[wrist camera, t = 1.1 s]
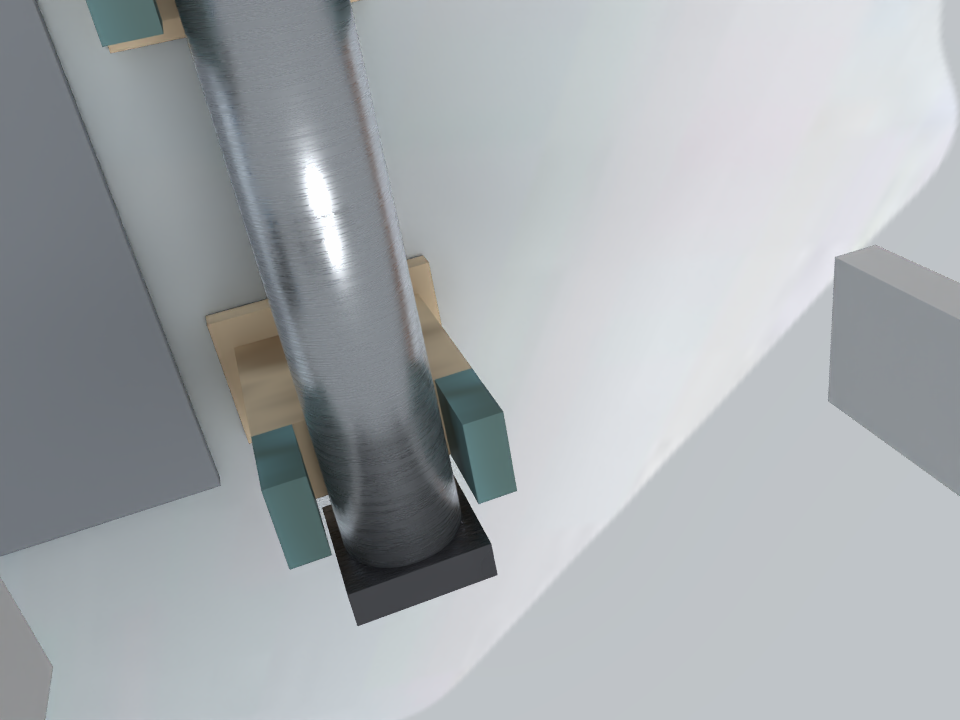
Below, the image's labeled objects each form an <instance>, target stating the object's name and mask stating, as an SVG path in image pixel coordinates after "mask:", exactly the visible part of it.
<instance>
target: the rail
mask: <svg viewBox="0 0 960 720" xmlns="http://www.w3.org/2000/svg"><path fill="white" fill-rule="evenodd" d="M175 3H176V6H177V10H178V13H179V16H180V19H181V22H182V26H183V29H184V32H185V35H186V38H187V42H188V45H189V48H190V51H191V55H192V58H193V61H194V64H195V67H196V71H197V74H198V77H199V80H200V83H201V87H202V90H203V93H204V96H205V100H206V103H207V106H208V109H209V112H210V116H211V119H212V122H213V125H214V129H215V132H216V135H217V138H218V141H219V145H220V148H221V151H222V154H223V157H224V161H225V164H226V167H227V170H228V174H229V177H230V180H231V183H232V186H233V190H234V193H235V196H236V199H237V203H238V206H239V209H240V212H241V215H242V219H243V222H244V225H245V228H246V231H247V235H248V238H249V241H250V244H251V248H252V251H253V254H254V257H255V260H256V264H257V267H258V270H259V273H260V276H261V280H262V283H263V286H264V289H265V293H266V296H267V299H268V302H269V305H270V309H271V312H272V315H273V318H274V322H275V325H276V328H277V331H278V334H279V338H280V341H281V344H282V347H283V350H284V354H285V357H286V360H287V363H288V367H289V370H290V373H291V376H292V379H293V383H294V386H295V389H296V392H297V396H298V399H299V402H300V405H301V408H302V412H303V415H304V418H305V421H306V424H307V428H308V431H309V434H310V437H311V441H312V444H313V447H314V450H315V453H316V457H317V460H318V463H319V466H320V470H321V473H322V476H323V479H324V482H325V486H326V489H327V492H328V495H329V498H330V502H331V505H328V506H325V507H322V509H323V512H324V516H325V519H326V522H327V526H328V529H329V533H330V536H331V540H332V543H333V546H334V550H335V553H336V557H337V560H338V564H339V567H340V570H341V574H342V577H343V581H344V584H345V588H346V591H347V595H348V598H349V601H350V604H351V607H352V610H353V613H354V616H355V620H356V623H357V626H360V625H362V624H365V623H368V622H371V621H373V620H376V619H379V618H381V617H384V616H387V615H390V614H392V613H395V612H398V611H401V610H403V609H406V608H409V607H411V606H414V605H417V604H420V603H422V602H425V601H428V600H431V599H433V598H436V597H439V596H441V595H444V594H447V593H450V592H452V591H455V590H458V589H461V588H463V587H466V586H469V585H471V584H474V583H477V582H480V581H482V580H485V579H488V578H491V577H493V576H496V575H497V570H496V565H495V560H494V555H493V550H492V545H491V543H490V541H489V539H488V537H487V535H486V533H485V532H484V530H483V528H482V526H481V524H480V522H479V521H478V519H477V517H476V515H475V513H474V511H473V510H472V508H471V506H470V504H469V502H468V501H467V499H466V497H465V495H464V493H463V491H462V490H461V488H460V486H459V484H458V482H457V480H456V479H455V477H454V475H453V471H452V467H451V462H450V458H449V453H448V448H447V444H446V439H445V435H444V430H443V425H442V421H441V416H440V412H439V407H438V402H437V398H436V393H435V389H434V384H433V379H432V375H431V370H430V366H429V361H428V356H427V352H426V347H425V343H424V338H423V333H422V329H421V324H420V320H419V315H418V310H417V306H416V301H415V297H414V292H413V287H412V283H411V278H410V274H409V269H408V264H407V260H406V255H405V251H404V246H403V241H402V237H401V232H400V228H399V223H398V218H397V214H396V209H395V205H394V200H393V195H392V191H391V186H390V182H389V177H388V172H387V168H386V163H385V159H384V154H383V149H382V145H381V140H380V136H379V131H378V126H377V122H376V117H375V113H374V108H373V103H372V99H371V94H370V90H369V85H368V80H367V76H366V71H365V67H364V62H363V57H362V53H361V48H360V44H359V39H358V34H357V30H356V25H355V21H354V16H353V11H352V7H351V2H350V0H175Z"/></svg>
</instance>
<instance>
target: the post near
mask: <svg viewBox="0 0 960 720" xmlns="http://www.w3.org/2000/svg"><path fill="white" fill-rule="evenodd" d="M355 1H360V0H350V2H355ZM86 2H87V5H88V8H89V11H90V13H91V16H92V19H93V22H94V25H95V27H96V30H97V33H98V36H99V39H100V41H101V44H102V47H104V46H108V48H109V51H110V53H115V52H119V51H124V50H129V49H133V48H138V47H143V46H148V45H152V44H157V43H162V42H166V41H171V40H176V39H181V38H185V37H186V35H185V32H184V29H183V26H182V22H181V19H180V16H179V13H178V10H177V6H176V3H175V0H86Z"/></svg>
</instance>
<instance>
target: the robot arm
mask: <svg viewBox="0 0 960 720" xmlns="http://www.w3.org/2000/svg"><path fill="white" fill-rule="evenodd" d="M829 372H830V373H829V392H828V401H829V402H830V403H831V404H833V405H834V406H836V407H837V408H838V409H840V410H841V411H843V412H844V413H845V414H847V415H848V416H849V417H851V418H852V419H854V420H855V421H856V422H858V423H859V424H860V425H862V426H863V427H865V428H866V429H868V430H869V431H870V432H872V433H873V434H874V435H876V436H877V437H878V438H880V439H881V440H883V441H884V442H885V443H887V444H888V445H890V446H891V447H892V448H894V449H895V450H897V451H898V452H900V453H901V454H902V455H903V456H905V457H906V458H908V459H909V460H910V461H912V462H913V463H915V464H916V465H917V466H919V467H920V468H921V469H923V470H924V471H926V472H927V473H928V474H930V475H931V476H933V477H934V478H935V479H937V480H938V481H939V482H941V483H942V484H943V485H945V486H946V487H948V488H949V489H950V490H952V491H953V492H955V493H956V494H957V495H959V496H960V283H959V282H956V281H954V280H952V279H950V278H948V277H945V276H943V275H941V274H938V273H937V272H934V271H932V270H930V269H928V268H926V267H923V266H921V265H919V264H917V263H915V262H912V261H910V260H908V259H906V258H904V257H901V256H899V255H897V254H895V253H892V252H890V251H888V250H886V249H884V248H881V247H879V246H877V245H873V246H870V247H867V248H864V249H860V250H857V251H854V252H850V253H847V254H844V255H841V256H837V257H835V268H834V288H833V309H832V330H831V350H830V371H829ZM52 671H53V666H52V664H51V663H50V661H49V659H48V657H47V656H46V654H45V652H44V651H43V649H42V647H41V645H40V644H39V642H38V640H37V639H36V637H35V635H34V633H33V632H32V630H31V628H30V627H29V625H28V623H27V621H26V620H25V618H24V616H23V615H22V613H21V611H20V609H19V608H18V606H17V604H16V603H15V601H14V599H13V597H12V596H11V594H10V592H9V591H8V589H7V587H6V585H5V584H4V582H3V580H2V579H1V577H0V720H45V719H46V712H47V705H48V698H49V692H50V685H51V678H52Z"/></svg>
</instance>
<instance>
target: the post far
mask: <svg viewBox="0 0 960 720" xmlns="http://www.w3.org/2000/svg"><path fill="white" fill-rule="evenodd" d="M407 264H408V269H409V274H410V278H411V283H412V287H413V292H414V297H415V301H416V306H417V310H418V315H419V320H420V324H421V329H422V333H423V338H424V343H425V347H426V352H427V356H428V361H429V366H430V370H431V375H432V379H433V384H434V389H435V393H436V398H437V402H438V407H439V412H440V416H441V421H442V425H443V430H444V435H445V439H446V444H447V448H448V453H449V455H450V454H451V456H452V458H453V459H454V461H455V463H456V465H457V466H458V468H459V470H460V472H461V474H462V475H463V477H464V479H465V481H466V482H467V484H468V486H469V488H470V490H471V491H472V493H473V495H474V497H475V498H476V500H477V502H478V504H481V503H483V502H486V501H489V500H492V499H495V498H498V497H501V496H504V495H506V494H509V493H512V492H515V491H517V488H516V482H515V477H514V471H513V465H512V459H511V454H510V448H509V442H508V436H507V431H506V425H505V419H504V413H503V411H502V409H501V408H500V407H499V405H498V404H497V402H496V401H495V400H494V398H493V397H492V396H491V394H490V393H489V391H488V390H487V389H486V387H485V386H484V384H483V383H482V382H481V380H480V379H479V377H478V376H477V375H476V373H475V372H474V370H473V369H472V368H471V366H470V365H469V364H468V362H467V361H466V359H465V358H464V357H463V355H462V354H461V352H460V351H459V350H458V348H457V347H456V345H455V344H454V343H453V341H452V340H451V339H450V337H449V336H448V334H447V333H446V332H445V330H444V329H443V327H442V325H441V320H440V315H439V310H438V305H437V301H436V296H435V291H434V286H433V281H432V276H431V271H430V266H429V262H428V261H427V260H426V259H425V257H424V256H419V257H416V258H412V259H408V260H407ZM206 322H207V327H208V330H209V332H210V335H211V338H212V341H213V344H214V346H215V349H216V352H217V355H218V358H219V361H220V363H221V366H222V369H223V372H224V375H225V377H226V380H227V383H228V386H229V389H230V392H231V394H232V397H233V400H234V403H235V406H236V408H237V411H238V414H239V417H240V420H241V423H242V425H243V428H244V431H245V434H246V437H247V439H248V442H249V444H250V443H252V444H253V450H254V455H255V460H256V465H257V470H258V476H259V481H260V486H261V491H262V494H263V496H264V499H265V502H266V505H267V508H268V510H269V513H270V516H271V519H272V522H273V524H274V527H275V530H276V533H277V536H278V538H279V541H280V544H281V547H282V549H283V552H284V555H285V558H286V561H287V563H288V566H289V569H293V568H296V567H299V566H302V565H305V564H308V563H310V562H313V561H316V560H319V559H322V558H325V557H328V556H331V555H332V554H331V551H330V547H329V544H328V540H327V537H326V533H325V530H324V526H323V523H322V519H321V516H320V512H319V508H318V505H317V501H316V499H317V498H320V497H323V496H326V495H328V492H327V489H326V486H325V482H324V479H323V476H322V473H321V470H320V466H319V463H318V460H317V457H316V453H315V450H314V447H313V444H312V441H311V437H310V434H309V431H308V428H307V424H306V421H305V418H304V415H303V412H302V408H301V405H300V402H299V399H298V396H297V392H296V389H295V386H294V383H293V379H292V376H291V373H290V370H289V367H288V363H287V360H286V357H285V354H284V350H283V347H282V344H281V341H280V338H279V334H278V331H277V328H276V325H275V322H274V318H273V315H272V312H271V309H270V305H269V302H268V299H265V300H262V301H258V302H255V303H251V304H247V305H244V306H240V307H237V308H233V309H229V310H226V311H222V312H219V313H215V314H212V315H208V316H206Z"/></svg>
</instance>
